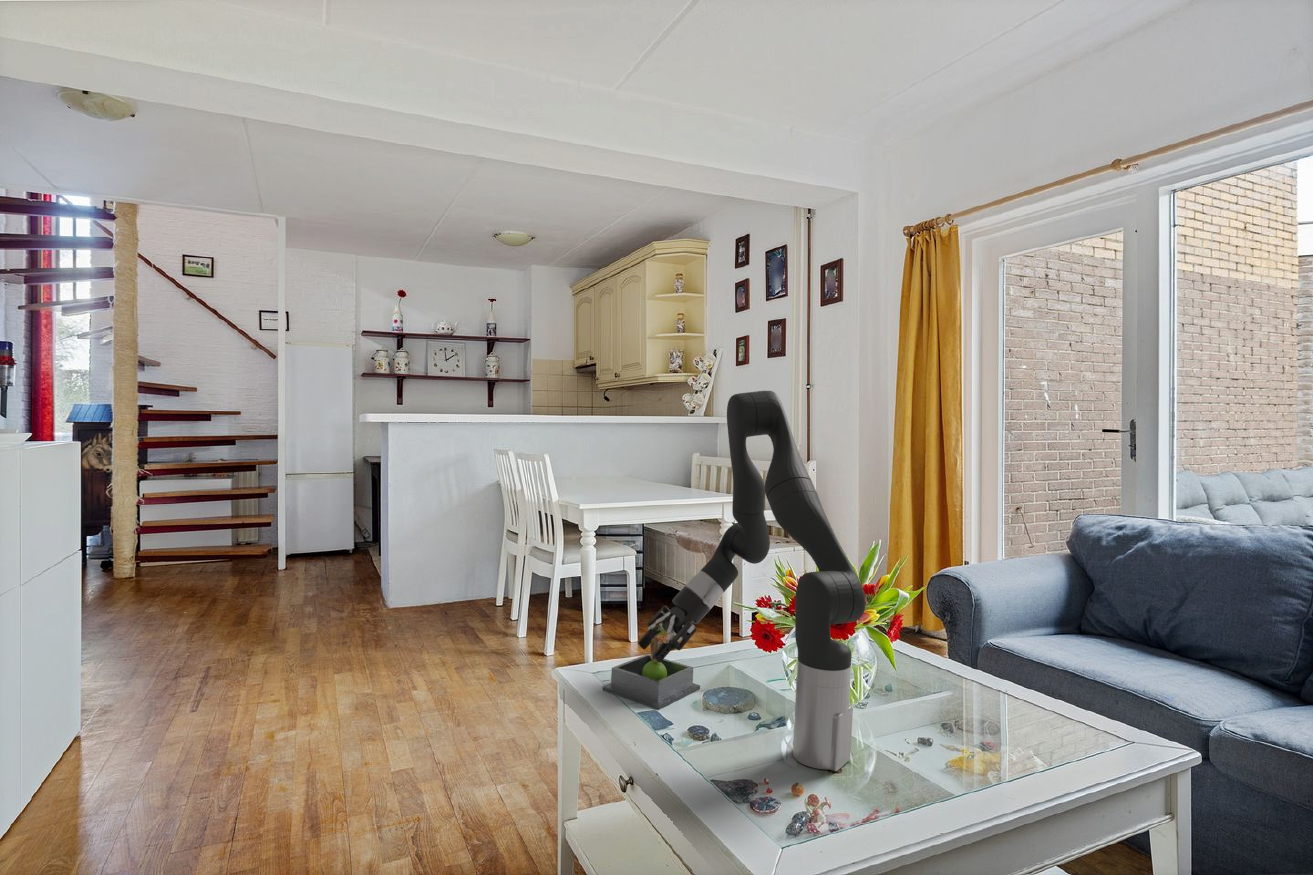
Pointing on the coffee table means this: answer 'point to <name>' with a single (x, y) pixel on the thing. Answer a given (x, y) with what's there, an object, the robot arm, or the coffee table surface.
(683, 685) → the duct collar
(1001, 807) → the coffee table surface
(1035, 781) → the coffee table surface
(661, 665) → the snail figurine
